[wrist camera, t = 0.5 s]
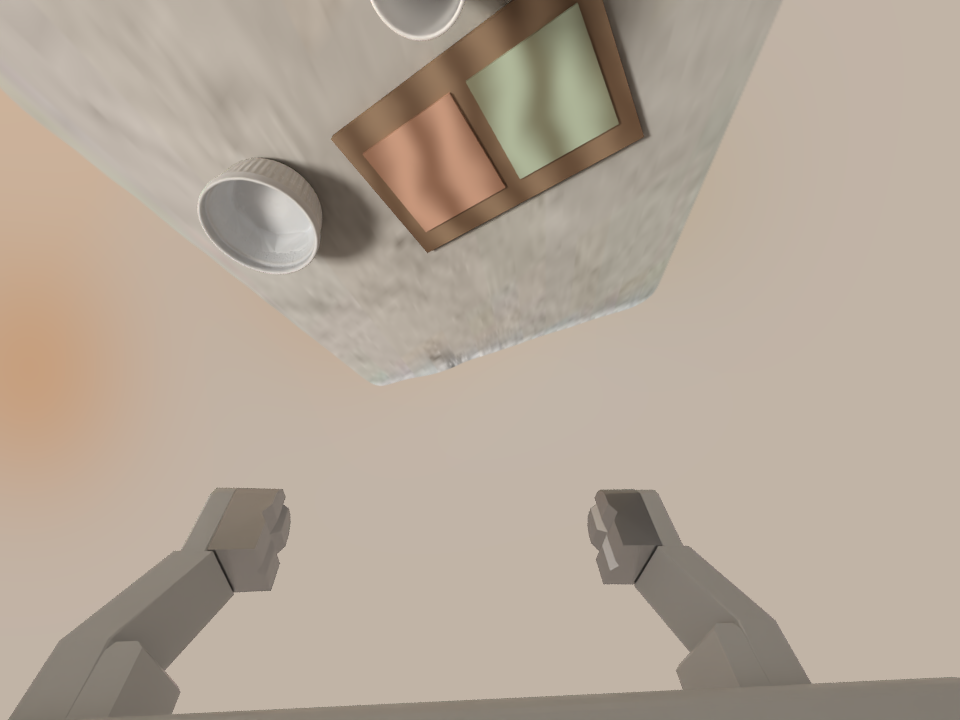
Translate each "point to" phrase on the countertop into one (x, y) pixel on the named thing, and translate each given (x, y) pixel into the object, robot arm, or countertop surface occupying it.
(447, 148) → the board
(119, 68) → the countertop surface
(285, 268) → the ramekin
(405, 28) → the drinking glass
